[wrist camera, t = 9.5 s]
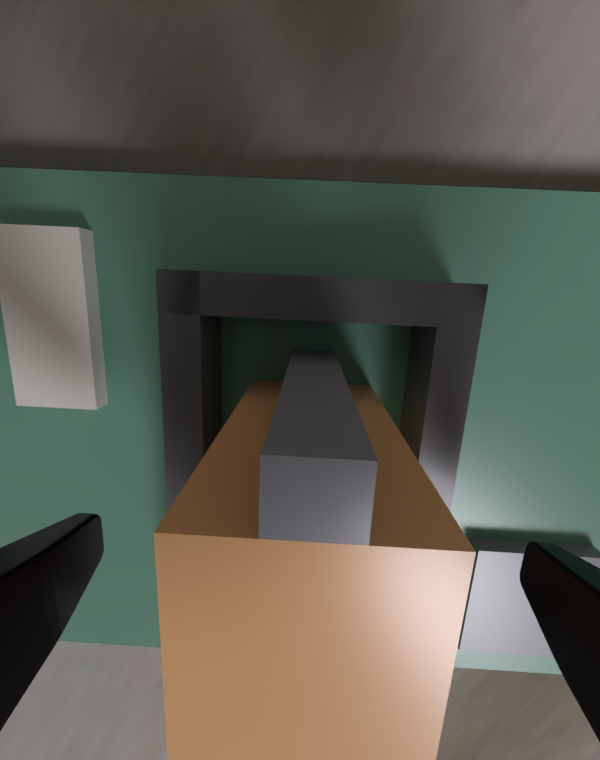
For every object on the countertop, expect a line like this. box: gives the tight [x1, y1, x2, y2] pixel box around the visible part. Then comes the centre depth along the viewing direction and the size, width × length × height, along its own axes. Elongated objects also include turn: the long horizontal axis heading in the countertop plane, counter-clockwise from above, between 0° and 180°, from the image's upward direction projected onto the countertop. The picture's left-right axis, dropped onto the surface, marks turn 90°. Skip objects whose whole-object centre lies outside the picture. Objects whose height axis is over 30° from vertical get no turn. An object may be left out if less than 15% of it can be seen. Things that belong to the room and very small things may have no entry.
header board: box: [0, 167, 600, 674], centre depth 11 cm, size 22×16×3 cm
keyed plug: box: [154, 349, 476, 760], centre depth 8 cm, size 4×6×7 cm, turn 177°
